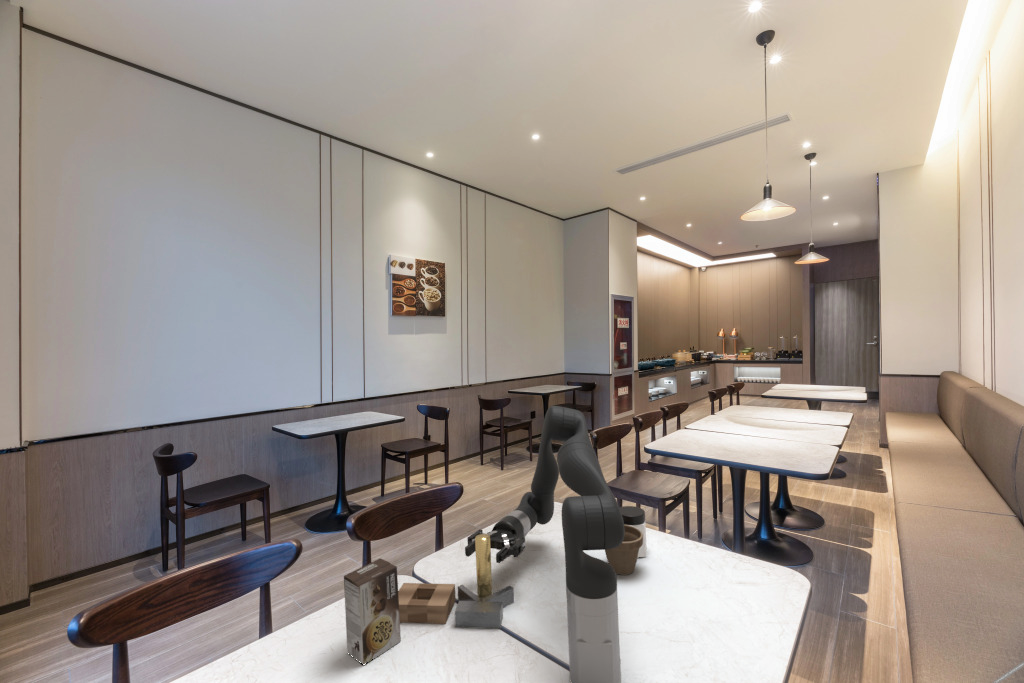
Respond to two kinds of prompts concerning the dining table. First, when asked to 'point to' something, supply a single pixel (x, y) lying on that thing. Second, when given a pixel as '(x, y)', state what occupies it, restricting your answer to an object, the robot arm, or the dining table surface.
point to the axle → (483, 565)
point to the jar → (636, 523)
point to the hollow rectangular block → (426, 602)
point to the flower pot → (626, 551)
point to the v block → (482, 608)
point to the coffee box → (372, 610)
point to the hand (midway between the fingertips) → (481, 555)
